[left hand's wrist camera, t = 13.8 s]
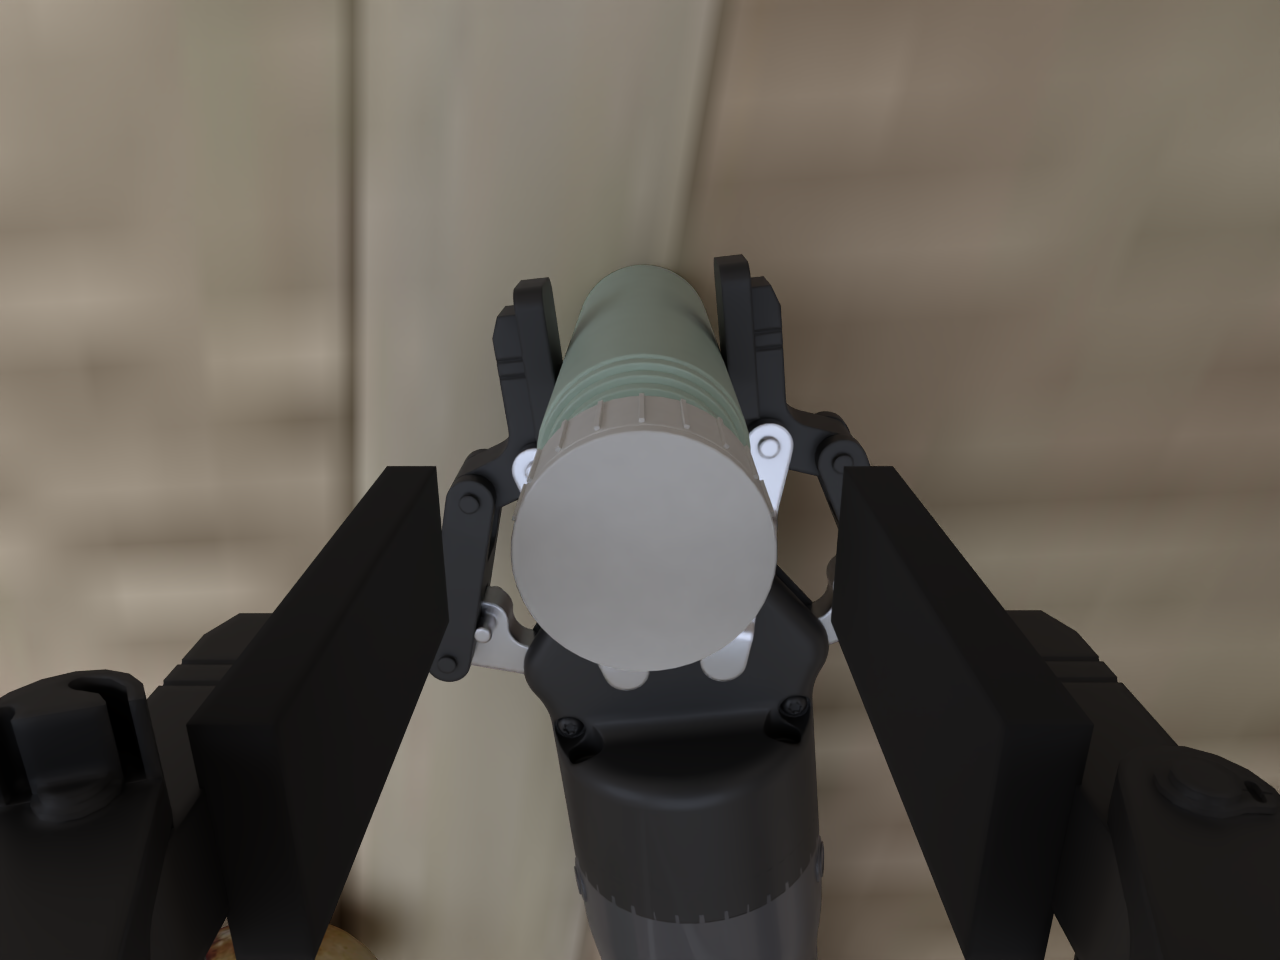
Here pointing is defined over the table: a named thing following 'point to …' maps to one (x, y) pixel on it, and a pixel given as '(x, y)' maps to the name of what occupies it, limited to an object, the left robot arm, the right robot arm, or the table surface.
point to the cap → (644, 535)
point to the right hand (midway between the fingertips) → (632, 274)
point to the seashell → (336, 955)
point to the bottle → (643, 351)
